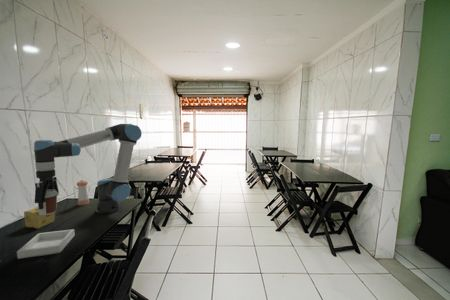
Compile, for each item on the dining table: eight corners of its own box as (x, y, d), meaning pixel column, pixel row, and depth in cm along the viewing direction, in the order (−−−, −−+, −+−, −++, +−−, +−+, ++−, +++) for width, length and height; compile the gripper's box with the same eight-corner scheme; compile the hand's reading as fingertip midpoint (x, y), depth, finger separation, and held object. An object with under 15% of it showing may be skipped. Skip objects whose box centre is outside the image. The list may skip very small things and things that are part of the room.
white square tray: (74, 235, 114) (74, 229, 113) (59, 252, 98) (59, 246, 98) (39, 239, 109) (38, 233, 109) (17, 258, 93) (16, 251, 93)
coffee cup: (43, 217, 102) (41, 194, 101) (33, 214, 105) (31, 192, 104) (63, 211, 110) (61, 189, 109) (53, 208, 114) (52, 187, 112)
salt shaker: (84, 201, 164) (82, 178, 162) (91, 202, 162) (89, 179, 160) (75, 204, 157) (73, 180, 155) (82, 205, 155) (80, 181, 153)
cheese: (38, 229, 120) (36, 213, 119) (24, 227, 122) (22, 211, 121) (55, 221, 130) (54, 206, 129) (42, 219, 133) (41, 205, 131)
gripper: (49, 166, 115) (52, 204, 117) (21, 174, 94) (25, 220, 96) (65, 165, 117) (67, 203, 119) (40, 173, 96) (43, 219, 98)
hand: (48, 210), depth 108 cm, fingers closed on coffee cup, 9 cm apart
